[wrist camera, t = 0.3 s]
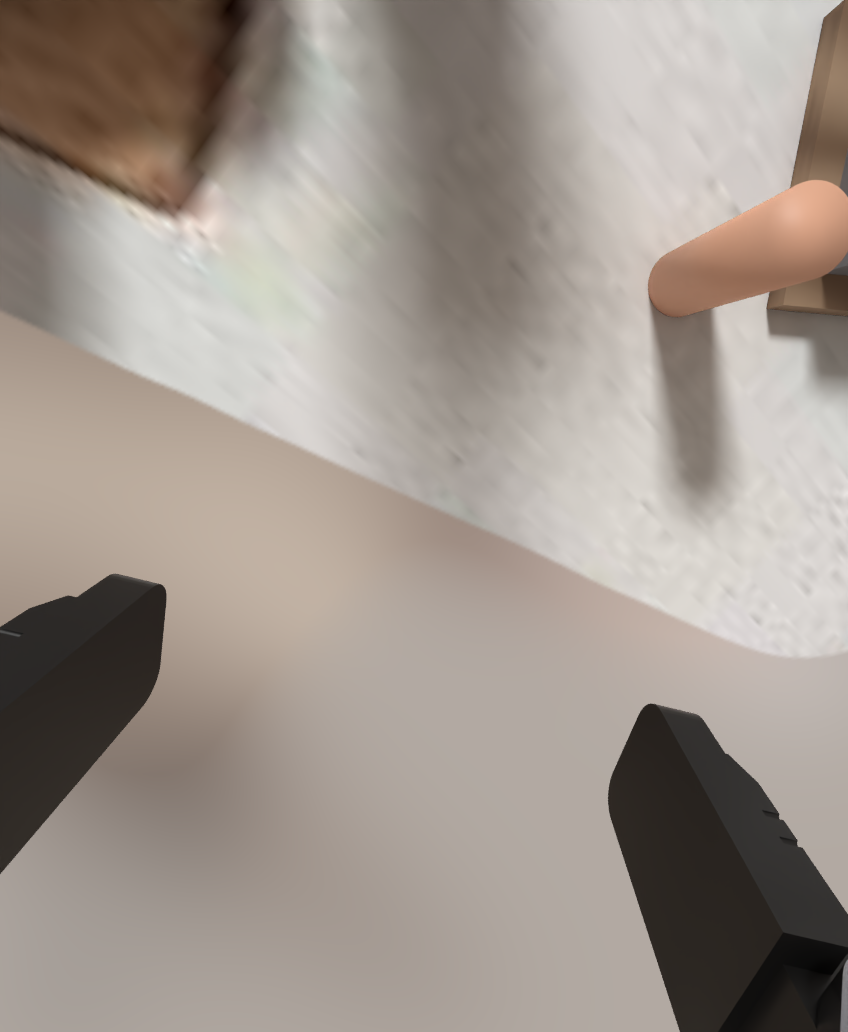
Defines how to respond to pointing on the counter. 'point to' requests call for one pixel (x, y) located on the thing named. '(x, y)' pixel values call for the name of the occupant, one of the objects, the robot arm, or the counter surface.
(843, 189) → the socket
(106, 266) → the counter surface
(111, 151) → the counter surface
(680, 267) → the peg
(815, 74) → the socket board
